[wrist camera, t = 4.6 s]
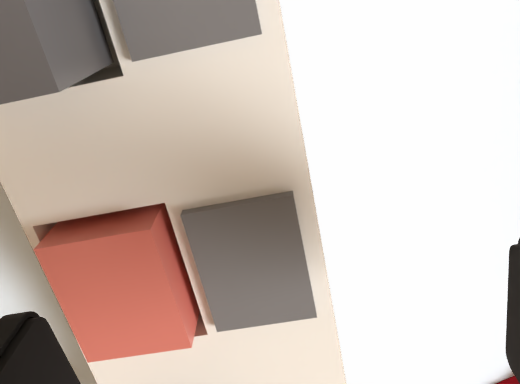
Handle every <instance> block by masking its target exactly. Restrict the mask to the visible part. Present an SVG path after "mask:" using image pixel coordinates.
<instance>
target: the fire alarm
mask: <svg viewBox="0 0 520 384" xmlns="http://www.w3.org/2000/svg"><path fill="white" fill-rule="evenodd" d="M496 384H519V382H518V380H517V378H516V377H515V376H513V377H511V378H508V379H506V380H503V381H501V382H499V383H496Z"/></svg>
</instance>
